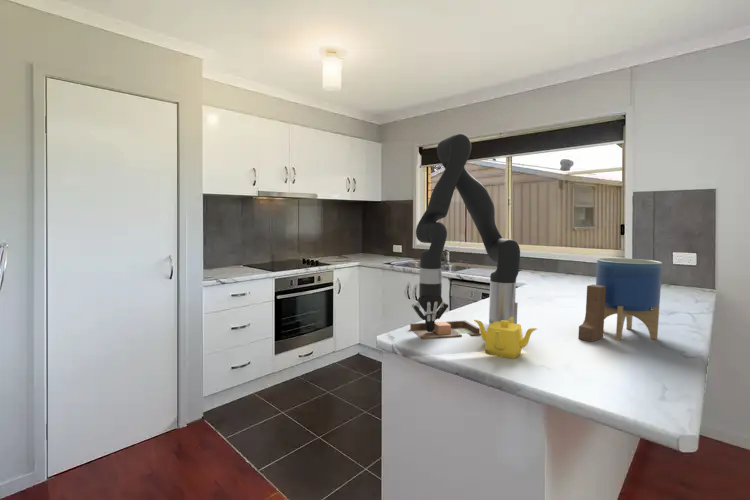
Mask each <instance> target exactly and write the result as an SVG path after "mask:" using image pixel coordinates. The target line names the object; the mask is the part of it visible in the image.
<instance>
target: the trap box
mask: <svg viewBox="0 0 750 500" xmlns="http://www.w3.org/2000/svg"><path fill="white" fill-rule="evenodd" d="M445 322H447V323H449V324H450V325H451V334H439V335H438V334H437V333H436V332H434V331H433V332H428V331H427V330H426V329H425V322H414V323H413V322H411V323H409V325H410V326H409V328H410V331H412V332H413V333H414V334H415V335H416V336H418V337H419V338H420V339H421V340H431V339H432V340H433V339H446V338H447V339H449V338H461V337H463V336H462V334H467V335H469V336H470V337H477V336H479V337H480V336H481V333H480V327H479V326H477V325H474V324H472V323H470V322H469V321H467V320H463V319H462V320H450V321H449V320H448V321H445Z"/></svg>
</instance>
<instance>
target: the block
mask: <svg viewBox="0 0 750 500" xmlns="http://www.w3.org/2000/svg"><path fill="white" fill-rule="evenodd" d="M433 331H434V332H436V333H437V334H438V335H439V334H451V325H450V324H449V323H447V322H446V321H435V329H434V330H433Z"/></svg>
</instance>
